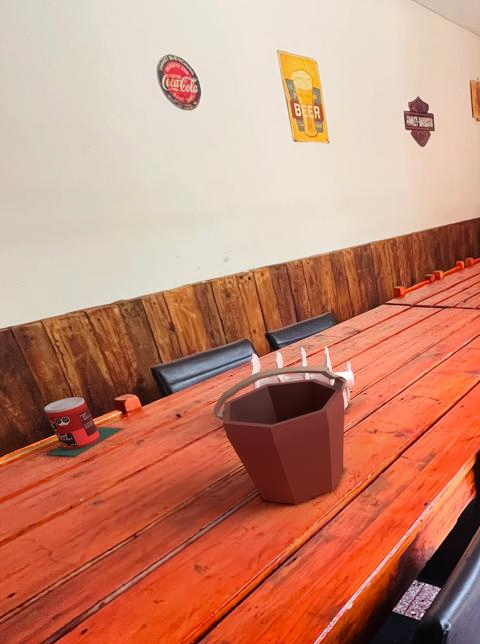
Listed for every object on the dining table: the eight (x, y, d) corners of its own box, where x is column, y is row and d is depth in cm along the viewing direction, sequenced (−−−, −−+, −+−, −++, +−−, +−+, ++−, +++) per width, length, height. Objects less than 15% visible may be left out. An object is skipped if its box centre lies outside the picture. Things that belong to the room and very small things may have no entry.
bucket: (363, 448, 119) (344, 346, 108) (359, 503, 99) (336, 384, 88) (253, 463, 115) (223, 359, 104) (227, 523, 96) (186, 402, 85)
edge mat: (47, 454, 125) (47, 454, 125) (95, 428, 137) (95, 427, 137) (74, 456, 123) (74, 455, 123) (120, 429, 136) (120, 428, 136)
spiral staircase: (357, 425, 139) (260, 434, 134) (356, 378, 149) (266, 384, 145) (349, 379, 124) (240, 387, 120) (348, 331, 135) (248, 336, 131)
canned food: (57, 446, 128) (38, 406, 124) (93, 432, 134) (76, 394, 129) (69, 453, 124) (50, 413, 120) (105, 439, 130) (88, 400, 125)
